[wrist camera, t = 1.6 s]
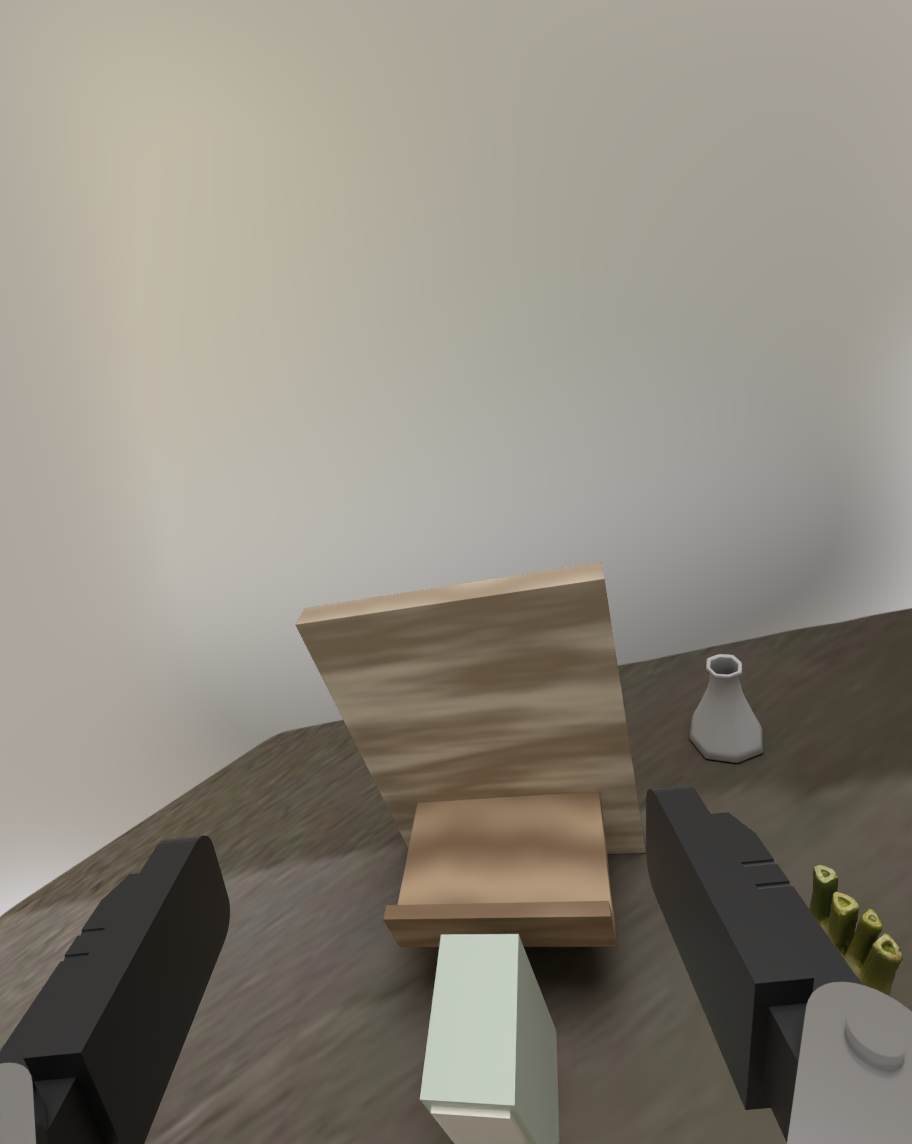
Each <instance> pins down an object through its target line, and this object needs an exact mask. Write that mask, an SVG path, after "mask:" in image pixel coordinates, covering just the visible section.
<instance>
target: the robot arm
mask: <svg viewBox="0 0 912 1144" xmlns="http://www.w3.org/2000/svg"><path fill="white" fill-rule="evenodd" d="M646 855H647V865H648V871H649V876H650V880H651V884H652V887H653V890H654V893H655V896H656V898H657V901H658V903H659V905H660V908H661V910H662V913H663V915H664V917H665V920H666V922H667V924H668V927H669V929H670V932H671V934H672V936H673V939H674V941H675V943H676V946H677V948H678V951H679V953H680V955H681V958H682V960H683V962H684V965H685V967H686V970H687V972H688V974H689V977H690V979H691V981H692V984H693V986H694V989H695V991H696V993H697V996H698V998H699V1000H700V1003H701V1005H702V1008H703V1010H704V1012H705V1015H706V1017H707V1019H708V1022H709V1024H710V1027H711V1029H712V1031H713V1034H714V1036H715V1038H716V1041H717V1043H718V1046H719V1048H720V1050H721V1053H722V1055H723V1057H724V1060H725V1062H726V1064H727V1067H728V1069H729V1072H730V1074H731V1076H732V1079H733V1081H734V1083H735V1086H736V1088H737V1091H738V1093H739V1095H740V1098H741V1100H742V1102H743V1105H744V1107H745V1110H751V1109H762V1108H771V1109H772V1111H773V1113H774V1115H775V1118H776V1120H777V1122H778V1124H779V1126H780V1128H781V1131H782V1133H783V1135H784V1137H785V1139H786V1142H787V1144H912V1012H911V1011H910V1010H909V1009H907V1008H906V1007H905V1006H903V1005H902V1004H901V1003H899V1002H898V1001H896V1000H894V999H893V998H891V997H890V996H888V995H886V994H884V993H882V992H880V991H878V990H876V989H873V988H870V987H867V986H865V985H863V984H862V982H861V981H860V980H859V978H858V977H857V976H856V975H855V973H854V972H853V971H852V969H851V968H850V966H849V965H848V964H847V962H846V961H845V959H844V958H843V956H842V955H841V954H840V952H839V951H838V949H837V948H836V947H835V945H834V944H833V942H832V941H831V939H830V938H829V937H828V935H827V934H826V932H825V931H824V930H823V928H822V927H821V925H820V924H819V922H818V921H817V920H816V918H815V917H814V915H813V914H812V913H811V911H810V910H809V908H808V907H807V906H806V904H805V903H804V901H803V900H802V898H801V897H800V896H799V894H798V893H797V891H796V890H795V889H794V887H791V886H790V884H789V880H788V879H787V877H786V876H785V874H784V873H783V872H782V870H781V869H780V867H779V866H778V864H775V863H774V859H773V857H772V856H771V855H770V853H769V852H768V850H767V849H766V848H765V846H764V845H763V843H762V842H761V840H760V839H759V838H758V836H757V835H756V833H755V832H753V831H752V830H751V829H749V828H748V827H747V826H745V825H744V824H743V823H741V822H740V821H739V820H737V819H736V818H735V817H733V816H732V815H731V814H729V813H718V814H710V812H709V811H708V809H707V808H706V806H705V804H704V803H703V801H702V800H701V798H700V796H699V795H698V793H697V792H696V790H695V789H694V788H693V787H692V786H691V785H684V786H674V787H665V788H655V789H649V790H648V791H647V796H646ZM229 919H230V904H229V898H228V895H227V891H226V888H225V884H224V881H223V877H222V874H221V870H220V867H219V863H218V860H217V857H216V853H215V850H214V846H213V843H212V841H211V839H210V838H209V837H208V836H195V837H185V838H175V839H166V840H163V841H161V842H160V843H159V844H158V845H157V847H156V848H155V850H154V851H153V853H152V854H151V856H150V857H149V859H148V861H147V862H146V864H145V865H144V867H143V869H142V870H141V872H140V873H138V874H130V875H128V876H127V877H126V878H125V879H124V880H123V881H122V882H121V883H120V884H119V885H118V886H117V887H115V888H114V889H113V890H112V891H111V892H110V893H109V894H108V895H107V896H106V897H105V898H103V899H102V900H101V902H100V903H99V905H98V906H97V908H96V909H95V911H94V912H93V914H92V915H91V917H90V918H89V920H88V921H87V923H86V924H85V926H84V927H83V929H82V933H81V936H77V938H76V939H75V940H74V942H73V943H72V945H71V946H70V948H69V949H68V951H67V952H66V954H65V959H64V961H61V962H60V963H59V964H58V966H57V967H56V969H55V970H54V972H53V973H52V975H51V976H50V978H49V979H48V981H47V982H46V984H45V985H44V987H43V988H42V990H41V991H40V993H39V994H38V996H37V997H36V999H35V1000H34V1002H33V1003H32V1005H31V1006H30V1008H29V1009H28V1011H27V1012H26V1014H25V1015H24V1016H23V1018H22V1019H21V1021H20V1022H19V1024H18V1025H17V1027H16V1028H15V1030H14V1031H13V1033H12V1034H11V1036H10V1037H9V1039H8V1040H7V1042H6V1043H5V1045H4V1046H3V1048H2V1049H1V1051H0V1144H144V1143H145V1140H146V1138H147V1135H148V1133H149V1130H150V1128H151V1125H152V1123H153V1120H154V1118H155V1115H156V1113H157V1110H158V1107H159V1105H160V1102H161V1100H162V1097H163V1095H164V1092H165V1090H166V1087H167V1085H168V1082H169V1080H170V1077H171V1075H172V1072H173V1070H174V1067H175V1065H176V1062H177V1060H178V1057H179V1055H180V1052H181V1050H182V1047H183V1045H184V1042H185V1040H186V1037H187V1034H188V1032H189V1029H190V1027H191V1024H192V1022H193V1019H194V1017H195V1014H196V1012H197V1009H198V1007H199V1004H200V1002H201V999H202V997H203V994H204V992H205V989H206V987H207V984H208V982H209V979H210V977H211V974H212V972H213V969H214V967H215V964H216V961H217V959H218V956H219V954H220V951H221V949H222V946H223V944H224V941H225V938H226V935H227V932H228V927H229Z"/></svg>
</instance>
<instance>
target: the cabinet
mask: <svg viewBox="0 0 912 1144" xmlns="http://www.w3.org/2000/svg"><path fill="white" fill-rule="evenodd" d="M420 1100H421V1102H422V1103H423V1104H424V1105H425V1107H426V1108H427V1109H428V1111H429V1112H430V1113H431V1114H432V1116H433V1117H434V1118H435V1120H436V1121H437V1122H438V1123H439V1125H440V1126H441V1127H442V1128H443V1130H444V1131H445V1132H446V1134H447V1135H448V1136H449V1137H450V1139H451V1140H452V1141H453V1143H454V1144H559V1114H558V1075H557V1037H556V1029H555V1026H554V1024H553V1021H552V1018H551V1016H550V1013H549V1011H548V1008H547V1006H546V1003H545V1001H544V998H543V995H542V993H541V990H540V988H539V985H538V983H537V980H536V978H535V975H534V972H533V970H532V967H531V965H530V962H529V960H528V957H527V955H526V952H525V949H524V947H523V944H522V942H521V939H520V937H519V934H448V935H441V938H440V946H439V954H438V962H437V969H436V977H435V985H434V993H433V1001H432V1008H431V1016H430V1024H429V1032H428V1039H427V1047H426V1055H425V1063H424V1071H423V1078H422V1086H421V1094H420Z"/></svg>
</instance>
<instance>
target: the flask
mask: <svg viewBox="0 0 912 1144" xmlns="http://www.w3.org/2000/svg"><path fill="white" fill-rule="evenodd" d="M706 670H707V671H708V672H709V673H710V680H709V685H708V688H707V690H706V692H705V694H704V696H703V698H702V700H701V702H700V704H699V705H698V707H697V709H696V711H695V712H694V714H693V716H692V718H691V727H690V736H689V739H690V740H691V741H692V743H693V744H694V745H695V746H696V747H697V749H698V750H699V751H700V752H701V754H702V755H703V756H704V757H705V758H706V759H712V760H719V761H726V762H733V763H739V762H741V761H744V760H746V759H749V758H751V757H754V756H757V755H759V754H762V753H763V729H762V728H761V726H760V724H759V722H758V720H757V719H756V717H755V715H754V713H753V712H752V710H751V708H750V706H749V704H748V702H747V700H746V698H745V696H744V694H743V692H742V689H741V685H740V681H739V676H741V674H742V663H741V662H740V661H739V660H738V659H737V658H736V657H735V656H734V655H724V654H718V655H715V656H713V657H710V658H707V666H706Z"/></svg>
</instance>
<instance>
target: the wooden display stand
mask: <svg viewBox="0 0 912 1144" xmlns="http://www.w3.org/2000/svg"><path fill="white" fill-rule="evenodd" d="M296 627H297V629H298V630H299V633H300V634H301V637H302V638H303V641H304V642H305V644H306V647H307V648H308V651H309V652H310V654H311V656H312V658H313V660H314V662H315V664H316V666H317V668H318V670H319V672H320V674H321V676H322V678H323V680H324V682H325V684H326V686H327V688H328V690H329V692H330V694H331V696H332V698H333V700H334V702H335V704H336V706H337V708H338V710H339V712H340V714H341V716H342V718H343V720H344V722H345V724H346V726H347V728H348V730H349V732H350V734H351V736H352V738H353V740H354V742H355V744H356V746H357V748H358V749H359V751H360V753H361V755H362V757H363V759H364V761H365V763H366V765H367V767H368V769H369V771H370V773H371V775H372V777H373V779H374V781H375V783H376V785H377V787H378V789H379V791H380V793H381V795H382V797H383V799H384V801H385V803H386V805H387V807H388V809H389V811H390V813H391V815H392V817H393V819H394V821H395V823H396V825H397V827H398V829H399V831H400V833H401V835H402V837H403V839H404V841H405V843H406V844H407V846H408V848H409V849H408V854H407V859H406V865H405V870H404V875H403V880H402V885H401V890H400V895H399V900H398V905H386V909H385V914H384V919H383V920H384V921H385V923H386V925H387V926H388V928H389V929H390V931H391V933H392V934H393V936H394V938H395V939H396V941H397V943H398V944H399V946H400V947H439V946H440V938H441V935H448V934H519V937H520V939H521V942H522V944H523V947H618V946H617V937H616V928H615V919H614V910H613V901H612V892H611V883H610V874H609V865H608V856H607V854H624V853H646V851H645V845H644V838H643V831H642V825H641V818H640V811H639V805H638V798H637V792H636V785H635V778H634V772H633V765H632V758H631V752H630V745H629V739H628V732H627V725H626V719H625V712H624V705H623V699H622V692H621V686H620V679H619V672H618V666H617V659H616V652H615V646H614V640H613V633H612V626H611V620H610V613H609V606H608V599H607V593H606V586H605V579H604V574H603V569H602V563H601V562H600V563H594V564H587V565H581V566H574V567H568V568H562V569H555V570H548V571H542V572H536V573H530V574H523V575H517V576H510V577H503V578H497V579H490V580H484V581H478V582H471V583H465V584H458V585H452V586H445V587H439V588H433V589H426V590H420V591H413V592H407V593H400V594H394V595H387V596H382V597H375V598H368V599H362V600H355V601H349V602H342V603H336V604H330V605H323V606H317V607H310V608H305V609H304V610H303V612H302V614H301V616H300V618H299V619H298V621H297V623H296Z"/></svg>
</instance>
